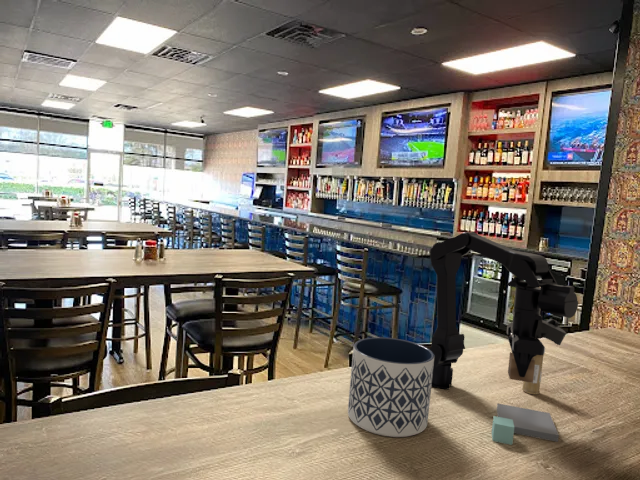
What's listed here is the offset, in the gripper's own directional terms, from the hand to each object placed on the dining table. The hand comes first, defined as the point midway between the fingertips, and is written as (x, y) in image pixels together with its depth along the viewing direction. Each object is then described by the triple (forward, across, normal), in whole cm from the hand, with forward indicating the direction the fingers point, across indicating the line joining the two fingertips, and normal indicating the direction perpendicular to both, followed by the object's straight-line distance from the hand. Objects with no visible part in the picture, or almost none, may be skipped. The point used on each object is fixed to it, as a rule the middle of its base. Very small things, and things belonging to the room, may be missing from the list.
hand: (520, 373), depth 114 cm
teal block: (+12, -11, +4) cm, 17 cm away
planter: (+12, -13, +29) cm, 34 cm away
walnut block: (+1, 0, 0) cm, 1 cm away
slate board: (+12, -1, -2) cm, 12 cm away
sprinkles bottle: (+12, +22, -6) cm, 26 cm away
